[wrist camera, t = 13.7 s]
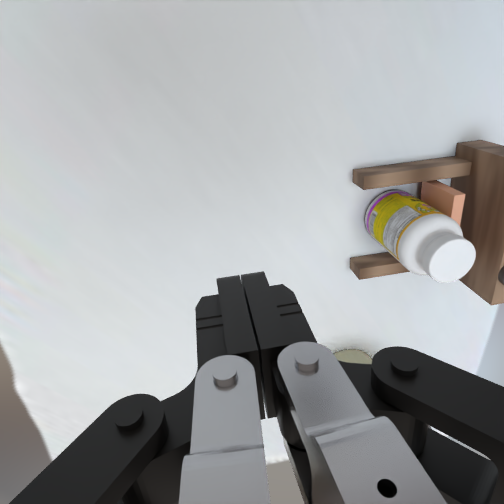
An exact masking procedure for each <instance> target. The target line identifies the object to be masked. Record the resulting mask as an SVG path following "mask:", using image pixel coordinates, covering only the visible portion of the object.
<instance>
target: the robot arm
mask: <svg viewBox="0 0 504 504" xmlns="http://www.w3.org/2000/svg"><path fill="white" fill-rule="evenodd" d="M241 283H242V284H241ZM217 286H218V293H219V294H217V295H211V296H205V297H202V298H201V299H200V301H199V303H198V304H197V306H196V330H197V331H196V333H197V358H198V370H197V373H196V376H195V378H194V379H193V381H192V382H191V383H190V384H189V385H188V386H187V387H186V388H185V389H184V390H182V391H181V392H179V393H177V394H175V395H174V396H171V397H169V398H167V399H165V400H163V401H159V400H158V399H157V398H156V397H154V396H152V395H148V394H134V395H130V396H127V397H124V398H122V399H120V400H118V401H116V402H115V403H113V404H112V405H111V406H110V407H109V408H107V409H106V410H105V411H104V412H103V413H102V414H101V415H100V416H99V417H98V418H97V419H96V420H95V421H94V422H93V423H92V424H91V425H90V426H89V427H88V428H87V429H86V430H85V431H84V432H83V433H81V434H80V435H79V436H78V437H77V438H76V439H75V440H74V441H73V442H72V443H71V444H70V445H69V446H68V447H67V448H66V449H65V450H64V451H63V452H62V453H61V454H60V455H59V456H58V457H57V458H56V459H55V460H54V461H53V462H51V463H50V465H48V466H47V467H46V468H45V469H44V470H43V471H42V472H41V473H40V474H39V475H38V476H37V477H36V478H35V479H34V480H33V481H32V482H31V483H30V484H29V485H28V486H27V487H26V488H25V489H24V490H23V491H22V492H21V493H20V494H18V495H17V496H16V497H15V498H14V499H13V500H12V501H11V502H10V503H9V504H271V503H270V495H269V487H268V478H267V469H266V461H265V452H264V444H263V436H262V428H261V420H262V419H265V411H264V404H265V408H266V412H267V417H268V418H273V417H277V419H278V423H279V427H280V431H281V433H282V435H283V441H284V446H285V449H286V452H287V454H288V457H289V460H290V463H291V466H292V469H293V472H294V475H295V478H296V480H297V483H298V486H299V489H300V492H301V495H302V498H303V501H304V504H504V387H502V386H500V385H498V384H495V383H493V382H491V381H488V380H486V379H483V378H481V377H478V376H476V375H474V374H471V373H469V372H467V371H464V370H462V369H459V368H457V367H455V366H452V365H450V364H448V363H445V362H443V361H440V360H438V359H436V358H433V357H431V356H428V355H426V354H424V353H421V352H419V351H416V350H414V349H410V348H406V347H388V348H385V349H382V350H380V351H379V352H377V353H376V354H375V355H374V357H373V359H372V364H360V363H349V362H343V361H339V360H337V358H336V357H335V355H334V354H333V353H332V351H331V350H330V349H328V348H327V347H325V346H323V345H321V344H318V343H317V341H316V339H315V337H314V335H313V333H312V331H311V329H310V326H309V324H308V322H307V320H306V318H305V316H304V314H303V313H302V309H301V307H300V305H299V304H298V301H297V299H296V297H295V294H294V292H293V291H291V290H290V289H289V288H287V287H286V286H284V285H283V284H281V285H274V286H269V284H268V281H267V278H266V276H265V273H264V272H257V273H250V274H244V275H241V280H240V276H239V275H237V276H230V277H224V278H218V279H217ZM263 399H264V402H263ZM428 425H430V426H432V427H434V428H435V429H437V430H439V431H441V432H443V433H445V434H447V435H449V436H451V437H453V438H454V439H456V440H458V441H460V442H462V443H464V444H466V445H468V446H469V447H471V448H473V449H475V450H477V451H479V452H481V453H482V454H484V455H486V456H487V457H488V458H489V459H491V460H488V459H486V458H484V457H482V456H480V455H478V454H477V453H475V452H473V451H471V450H469V449H467V448H465V447H463V446H462V445H460V444H458V443H456V442H454V441H452V440H450V439H449V438H447V437H445V436H443V435H441V434H439V433H437V432H435V431H434V430H432V429H430V428H428Z"/></svg>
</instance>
